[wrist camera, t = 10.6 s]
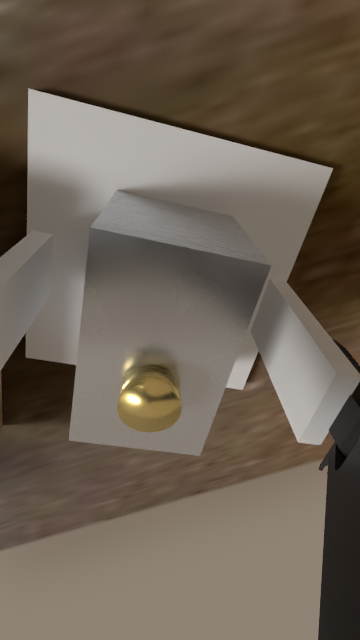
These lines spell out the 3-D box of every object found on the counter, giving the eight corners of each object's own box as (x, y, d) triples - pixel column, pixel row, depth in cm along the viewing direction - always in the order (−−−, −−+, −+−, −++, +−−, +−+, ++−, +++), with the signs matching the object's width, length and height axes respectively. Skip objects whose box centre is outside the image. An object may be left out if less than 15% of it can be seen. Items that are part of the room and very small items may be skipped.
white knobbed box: (116, 189, 14) (82, 238, 8) (232, 216, 15) (282, 279, 9) (96, 348, 18) (61, 463, 12) (189, 363, 19) (202, 478, 12)
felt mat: (33, 90, 13) (28, 88, 12) (327, 166, 14) (333, 168, 14) (29, 351, 18) (25, 357, 18) (240, 383, 20) (242, 389, 20)
